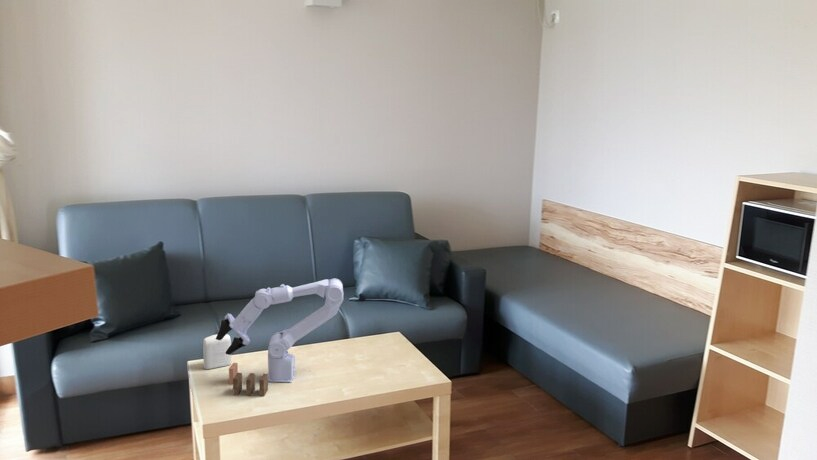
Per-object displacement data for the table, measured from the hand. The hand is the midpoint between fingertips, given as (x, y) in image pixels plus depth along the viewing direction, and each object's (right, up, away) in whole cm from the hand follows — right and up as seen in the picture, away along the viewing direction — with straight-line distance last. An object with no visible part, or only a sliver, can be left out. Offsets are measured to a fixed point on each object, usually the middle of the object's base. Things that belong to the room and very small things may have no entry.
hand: (222, 346), depth 219 cm
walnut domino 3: (+16, -15, -7) cm, 23 cm away
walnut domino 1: (+7, -14, -7) cm, 18 cm away
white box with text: (-6, -10, +14) cm, 18 cm away
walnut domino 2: (+12, -14, -7) cm, 20 cm away
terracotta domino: (+4, -13, +1) cm, 13 cm away
